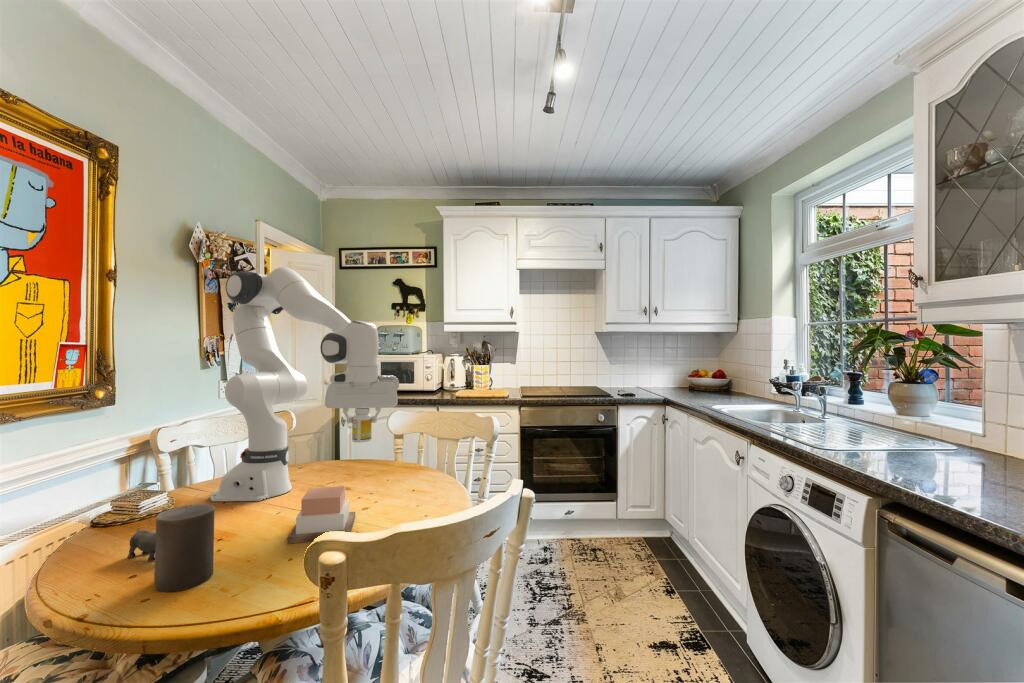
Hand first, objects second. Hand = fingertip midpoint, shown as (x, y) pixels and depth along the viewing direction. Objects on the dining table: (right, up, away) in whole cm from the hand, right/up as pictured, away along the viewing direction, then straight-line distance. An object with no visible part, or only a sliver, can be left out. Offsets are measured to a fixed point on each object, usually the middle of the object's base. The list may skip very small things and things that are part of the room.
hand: (362, 422), depth 131 cm
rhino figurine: (-35, -25, -32) cm, 53 cm away
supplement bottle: (0, -6, 0) cm, 6 cm away
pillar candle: (-22, -25, -41) cm, 52 cm away
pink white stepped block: (-4, -23, -16) cm, 28 cm away
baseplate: (-4, -25, -16) cm, 30 cm away
